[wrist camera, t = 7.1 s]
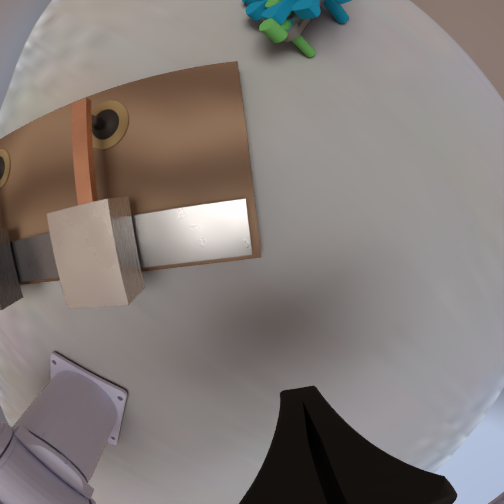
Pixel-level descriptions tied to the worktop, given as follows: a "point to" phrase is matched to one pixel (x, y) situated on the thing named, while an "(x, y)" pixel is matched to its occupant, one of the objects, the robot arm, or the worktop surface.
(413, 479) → the robot arm
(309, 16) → the gear
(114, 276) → the slider
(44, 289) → the worktop surface
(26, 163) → the hole board
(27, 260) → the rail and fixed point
